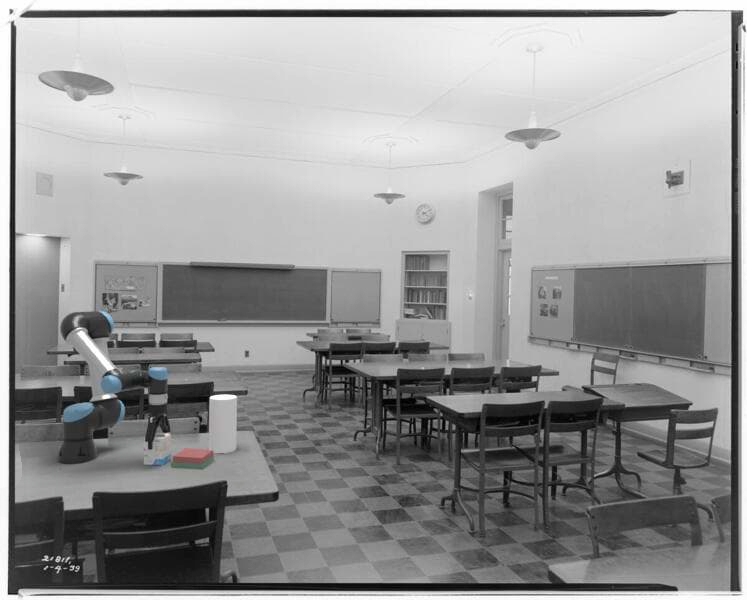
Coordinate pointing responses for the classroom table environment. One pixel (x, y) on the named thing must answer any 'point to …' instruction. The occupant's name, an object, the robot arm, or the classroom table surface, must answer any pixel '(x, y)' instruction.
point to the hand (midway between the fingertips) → (158, 452)
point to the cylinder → (222, 423)
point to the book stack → (192, 458)
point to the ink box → (159, 450)
